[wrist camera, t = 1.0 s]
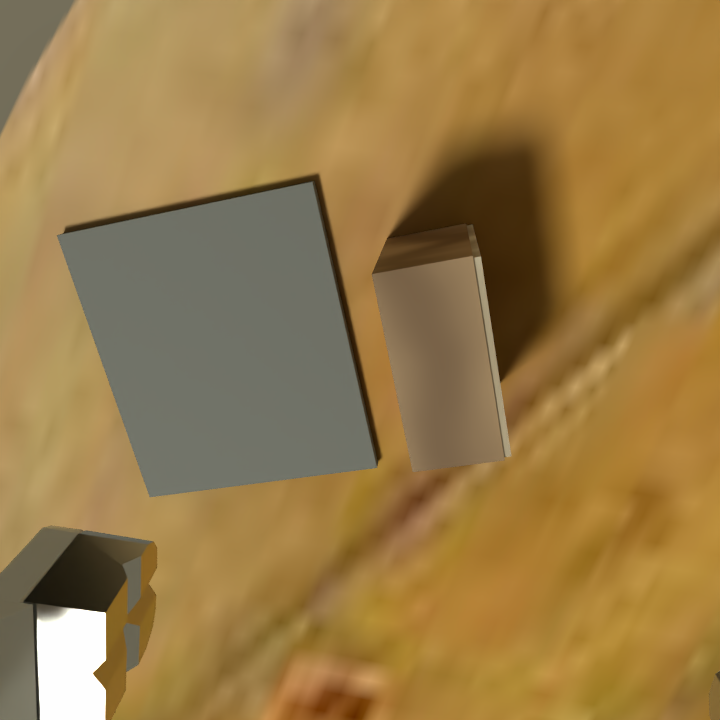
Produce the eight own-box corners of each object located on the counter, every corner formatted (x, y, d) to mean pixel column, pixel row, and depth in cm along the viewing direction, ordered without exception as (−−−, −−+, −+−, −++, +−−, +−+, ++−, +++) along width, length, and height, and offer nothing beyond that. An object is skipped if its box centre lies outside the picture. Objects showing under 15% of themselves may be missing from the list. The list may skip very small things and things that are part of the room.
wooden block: (472, 222, 33) (480, 254, 26) (497, 387, 36) (511, 459, 29) (387, 238, 34) (371, 274, 27) (418, 399, 37) (412, 471, 30)
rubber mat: (314, 180, 34) (312, 181, 33) (377, 462, 39) (376, 467, 38) (62, 233, 36) (56, 235, 35) (153, 491, 41) (149, 497, 41)
